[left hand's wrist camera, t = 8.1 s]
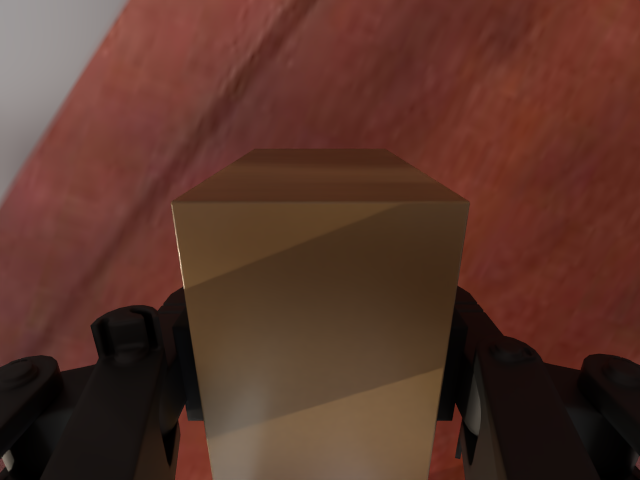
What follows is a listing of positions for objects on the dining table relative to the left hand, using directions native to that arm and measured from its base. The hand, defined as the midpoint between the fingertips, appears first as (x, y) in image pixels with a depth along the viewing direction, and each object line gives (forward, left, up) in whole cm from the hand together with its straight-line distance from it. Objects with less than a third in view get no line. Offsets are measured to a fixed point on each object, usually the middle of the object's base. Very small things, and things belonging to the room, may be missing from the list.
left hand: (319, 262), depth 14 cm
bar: (+6, +4, -1) cm, 7 cm away
